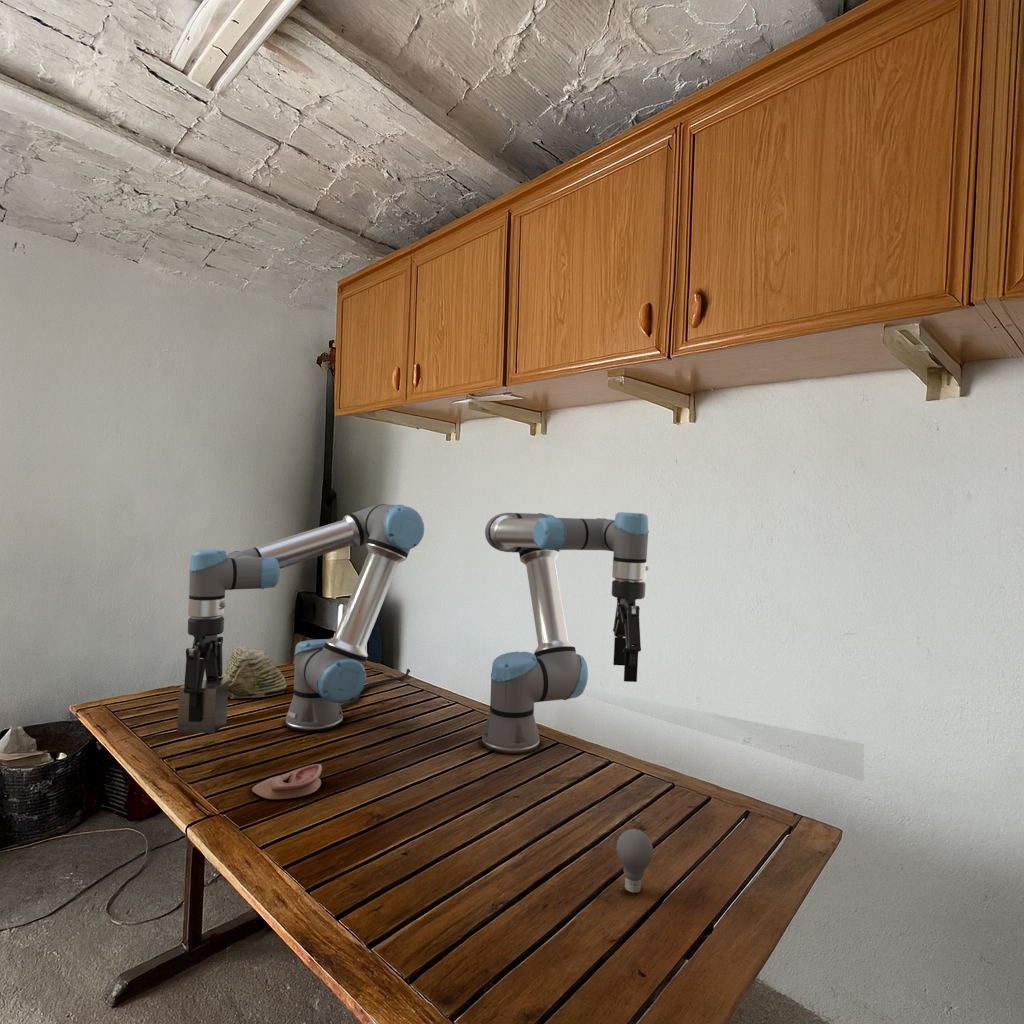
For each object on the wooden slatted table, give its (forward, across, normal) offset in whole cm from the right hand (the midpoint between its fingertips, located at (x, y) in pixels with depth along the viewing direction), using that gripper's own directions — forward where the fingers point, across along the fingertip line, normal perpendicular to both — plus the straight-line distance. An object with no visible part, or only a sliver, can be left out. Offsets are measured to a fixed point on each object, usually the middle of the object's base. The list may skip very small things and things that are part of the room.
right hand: (624, 672), depth 145 cm
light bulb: (+26, -39, +5) cm, 47 cm away
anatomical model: (+26, -8, +73) cm, 78 cm away
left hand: (+15, +2, +97) cm, 98 cm away
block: (+18, +2, +97) cm, 98 cm away
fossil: (+26, +54, +105) cm, 121 cm away
